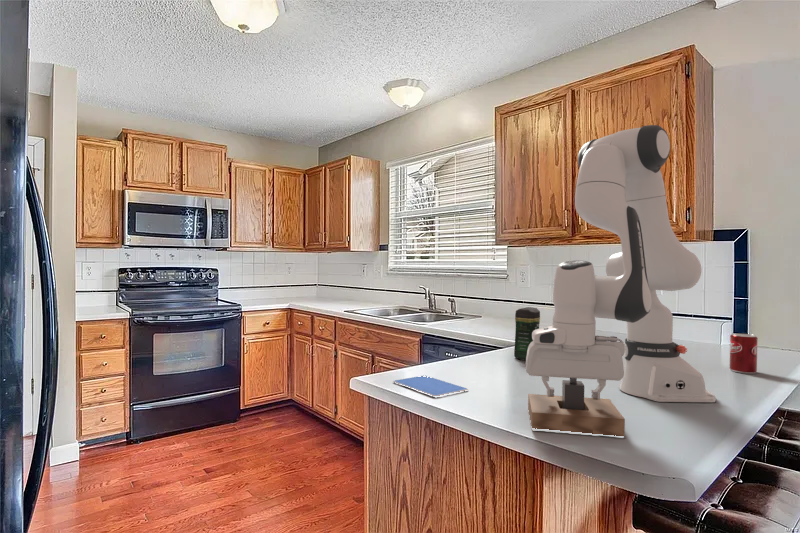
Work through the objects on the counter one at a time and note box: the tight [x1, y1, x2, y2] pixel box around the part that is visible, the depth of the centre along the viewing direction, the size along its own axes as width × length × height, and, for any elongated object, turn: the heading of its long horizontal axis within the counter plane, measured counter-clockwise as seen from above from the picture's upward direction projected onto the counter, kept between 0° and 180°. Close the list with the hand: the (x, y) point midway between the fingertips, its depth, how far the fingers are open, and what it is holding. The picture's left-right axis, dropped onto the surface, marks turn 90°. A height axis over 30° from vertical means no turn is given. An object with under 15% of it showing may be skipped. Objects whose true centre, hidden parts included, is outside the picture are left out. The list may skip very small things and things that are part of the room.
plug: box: [561, 378, 585, 410], centre depth 104 cm, size 4×4×12 cm
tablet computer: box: [392, 375, 469, 396], centre depth 133 cm, size 19×13×1 cm, turn 36°
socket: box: [527, 393, 626, 437], centre depth 104 cm, size 18×14×4 cm
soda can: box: [729, 332, 759, 375], centre depth 155 cm, size 7×7×12 cm
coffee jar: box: [513, 306, 541, 361], centre depth 173 cm, size 10×8×19 cm
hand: (572, 397), depth 104 cm, fingers open, 8 cm apart
